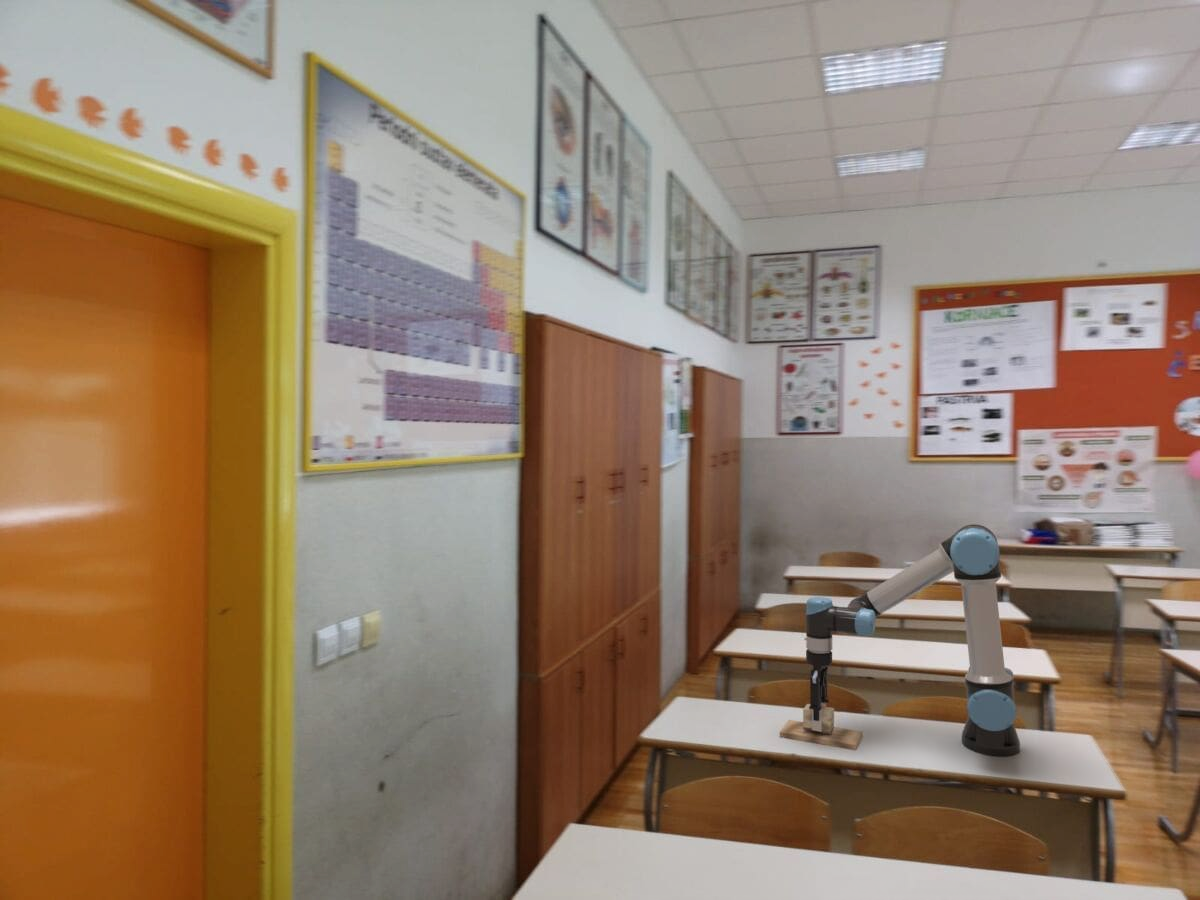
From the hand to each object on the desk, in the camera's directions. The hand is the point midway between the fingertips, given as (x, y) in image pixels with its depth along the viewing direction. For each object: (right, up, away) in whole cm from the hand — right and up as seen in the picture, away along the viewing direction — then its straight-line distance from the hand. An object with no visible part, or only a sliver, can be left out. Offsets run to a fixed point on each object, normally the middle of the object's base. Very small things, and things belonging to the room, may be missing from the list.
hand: (819, 727), depth 237 cm
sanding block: (0, 0, 0) cm, 0 cm away
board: (+1, -3, 0) cm, 3 cm away
